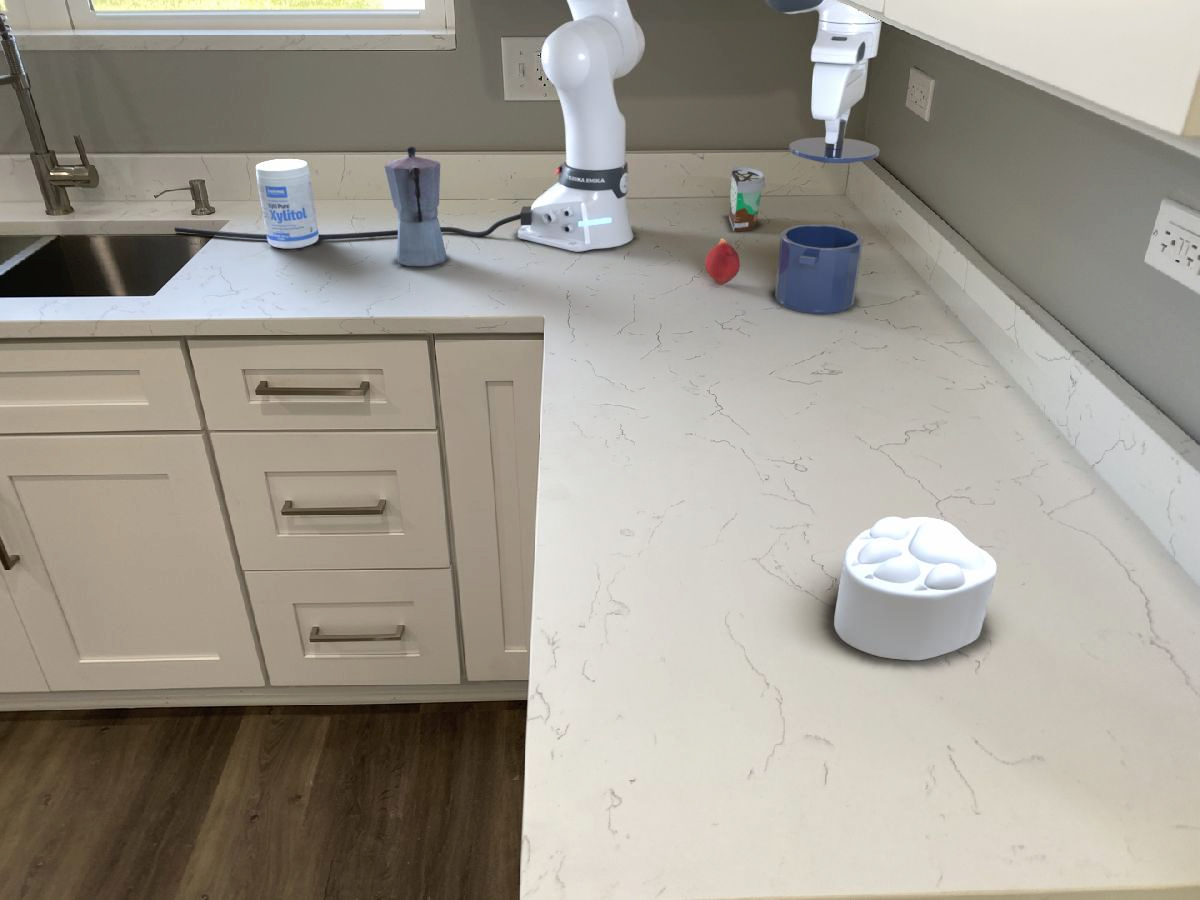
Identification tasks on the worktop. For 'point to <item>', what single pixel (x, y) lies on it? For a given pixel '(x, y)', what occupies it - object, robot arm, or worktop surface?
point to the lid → (834, 149)
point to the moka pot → (416, 209)
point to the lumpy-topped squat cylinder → (913, 589)
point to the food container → (745, 197)
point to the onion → (722, 262)
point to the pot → (818, 268)
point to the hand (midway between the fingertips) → (834, 140)
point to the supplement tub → (287, 203)
